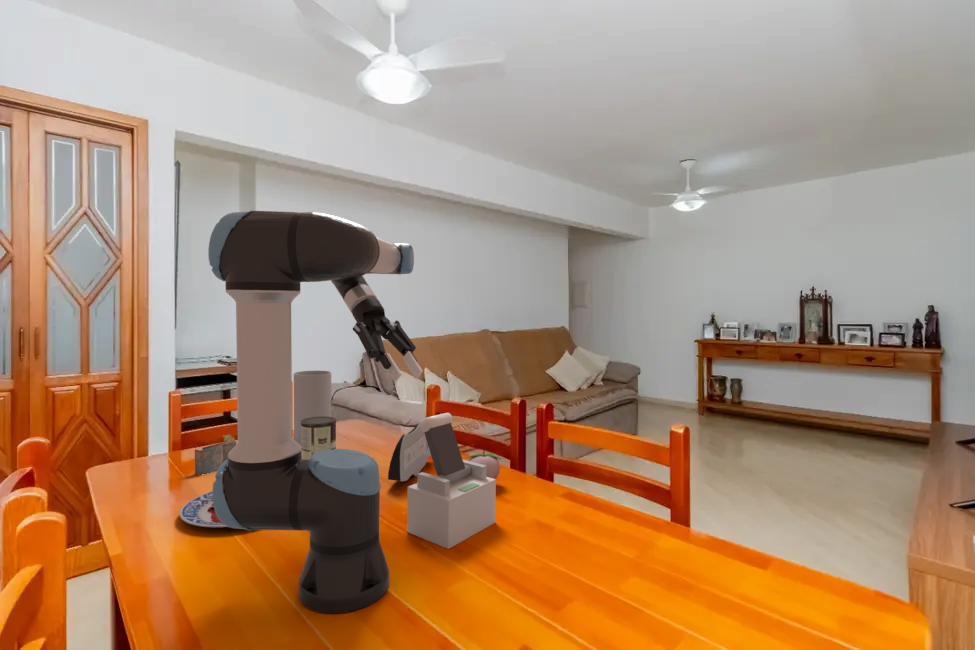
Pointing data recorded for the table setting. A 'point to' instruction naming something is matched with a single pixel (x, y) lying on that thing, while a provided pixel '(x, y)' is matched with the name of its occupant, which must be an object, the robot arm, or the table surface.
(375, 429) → the table surface
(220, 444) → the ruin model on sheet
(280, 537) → the table surface
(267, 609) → the table surface
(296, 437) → the cylinder vase
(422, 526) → the box
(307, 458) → the coffee can
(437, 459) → the lever
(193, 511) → the ceramic plate
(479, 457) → the decorative fruit
